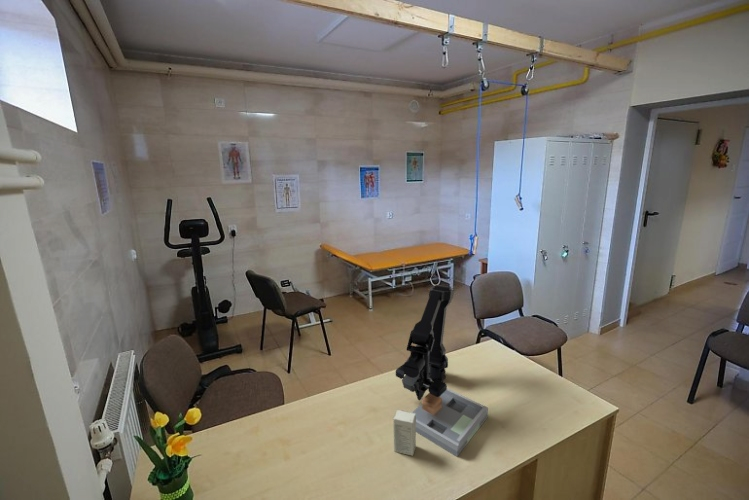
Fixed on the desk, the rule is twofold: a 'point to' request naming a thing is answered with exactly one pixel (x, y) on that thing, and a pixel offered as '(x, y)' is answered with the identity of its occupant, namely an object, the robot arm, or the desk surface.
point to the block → (431, 403)
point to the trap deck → (451, 422)
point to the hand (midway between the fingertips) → (419, 399)
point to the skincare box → (404, 432)
